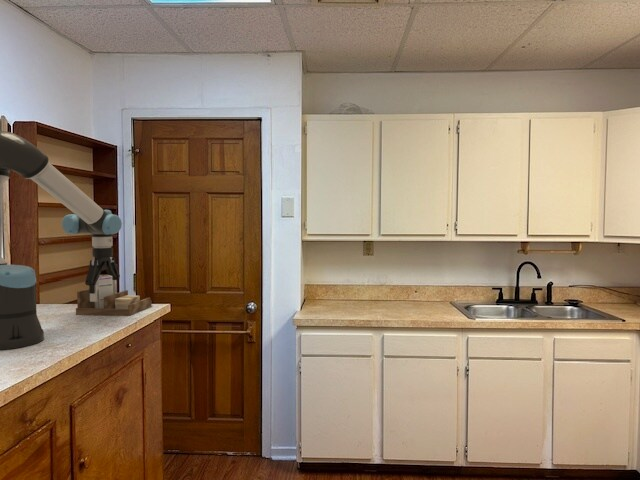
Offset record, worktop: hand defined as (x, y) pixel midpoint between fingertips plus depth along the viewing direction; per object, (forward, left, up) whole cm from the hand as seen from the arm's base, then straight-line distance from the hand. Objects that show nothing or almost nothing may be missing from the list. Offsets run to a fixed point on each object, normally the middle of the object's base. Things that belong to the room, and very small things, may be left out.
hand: (103, 298), depth 173 cm
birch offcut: (0, -10, -2) cm, 11 cm away
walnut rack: (0, -5, -5) cm, 7 cm away
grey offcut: (0, -11, -5) cm, 12 cm away
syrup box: (0, 0, -5) cm, 5 cm away
